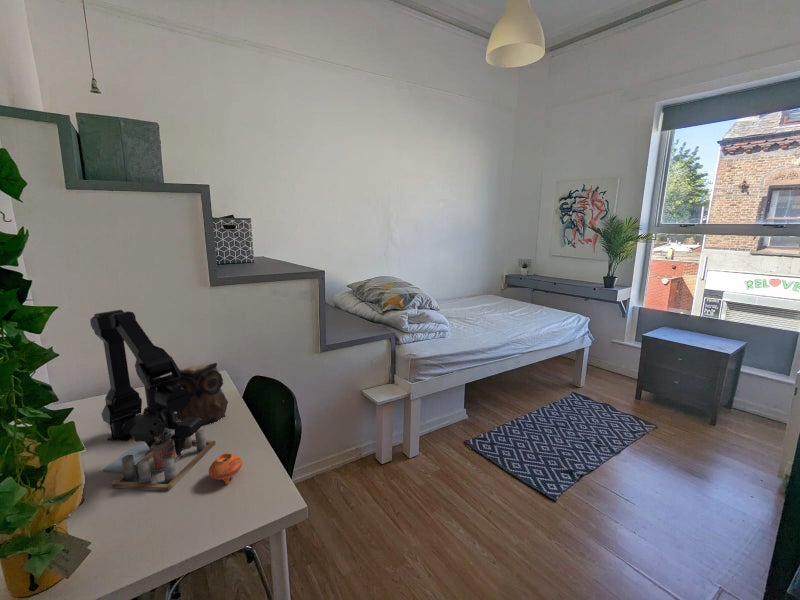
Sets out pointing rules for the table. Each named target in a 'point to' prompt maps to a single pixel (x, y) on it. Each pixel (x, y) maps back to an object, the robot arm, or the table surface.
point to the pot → (225, 467)
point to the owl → (203, 393)
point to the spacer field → (168, 466)
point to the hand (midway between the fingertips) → (167, 453)
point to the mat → (136, 451)
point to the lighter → (163, 449)
